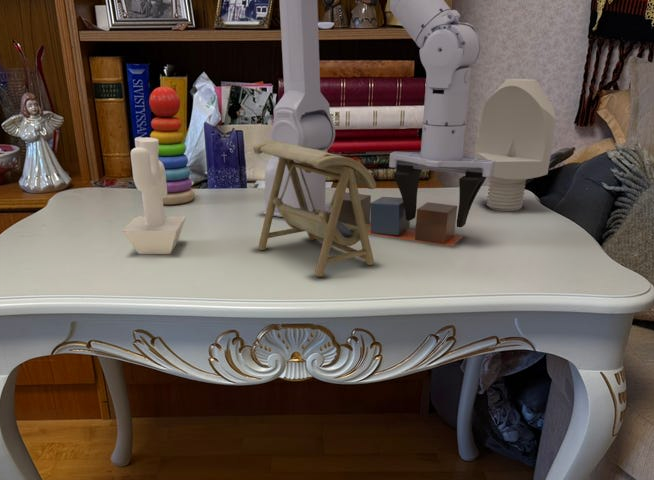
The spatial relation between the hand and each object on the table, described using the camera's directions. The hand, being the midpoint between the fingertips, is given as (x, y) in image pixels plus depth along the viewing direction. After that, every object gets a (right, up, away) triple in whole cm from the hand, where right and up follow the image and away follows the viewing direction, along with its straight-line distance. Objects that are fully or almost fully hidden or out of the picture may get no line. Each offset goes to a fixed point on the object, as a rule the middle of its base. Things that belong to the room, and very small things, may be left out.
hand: (435, 222), depth 96 cm
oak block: (-12, +1, +7) cm, 14 cm away
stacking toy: (-43, +8, +22) cm, 48 cm away
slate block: (-6, 0, +4) cm, 7 cm away
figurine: (-40, -5, -3) cm, 40 cm away
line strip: (-6, -1, +4) cm, 7 cm away
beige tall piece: (+15, +6, +17) cm, 24 cm away
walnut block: (0, -2, +1) cm, 2 cm away
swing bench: (-18, -6, -6) cm, 20 cm away
